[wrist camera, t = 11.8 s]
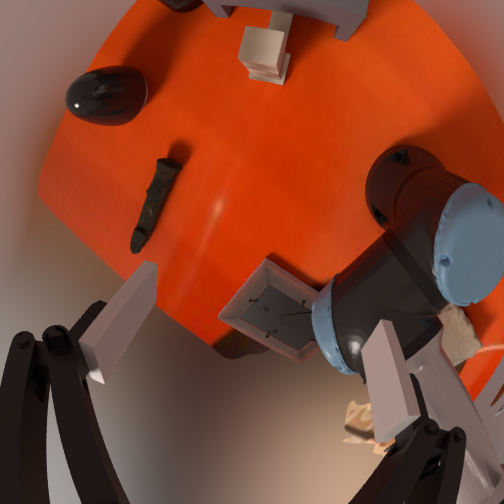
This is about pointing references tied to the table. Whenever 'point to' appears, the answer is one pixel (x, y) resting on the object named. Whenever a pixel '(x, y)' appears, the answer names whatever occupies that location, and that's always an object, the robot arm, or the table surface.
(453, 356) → the flat stone slab
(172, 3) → the supplement bottle
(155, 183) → the hand tool
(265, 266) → the picture frame
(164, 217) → the table surface
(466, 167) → the table surface
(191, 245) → the table surface
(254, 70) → the ash-wood pusher
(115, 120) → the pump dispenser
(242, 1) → the grey step stool
